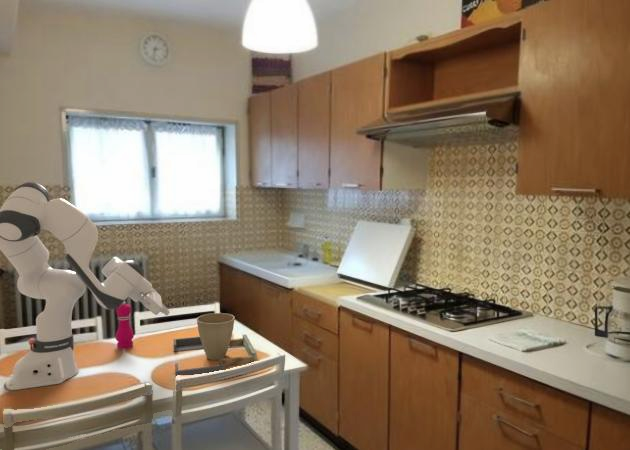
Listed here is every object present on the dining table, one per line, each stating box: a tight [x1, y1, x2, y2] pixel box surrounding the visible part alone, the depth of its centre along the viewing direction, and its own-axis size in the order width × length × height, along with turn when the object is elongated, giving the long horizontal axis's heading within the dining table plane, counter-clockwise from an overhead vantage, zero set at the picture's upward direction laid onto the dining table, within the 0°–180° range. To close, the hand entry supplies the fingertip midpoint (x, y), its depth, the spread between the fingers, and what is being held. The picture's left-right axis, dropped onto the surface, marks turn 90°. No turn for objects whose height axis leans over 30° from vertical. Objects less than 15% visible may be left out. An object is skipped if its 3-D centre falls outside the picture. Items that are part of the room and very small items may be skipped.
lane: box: [222, 334, 257, 368], centre depth 187 cm, size 13×24×4 cm, turn 18°
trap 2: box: [174, 358, 225, 377], centre depth 169 cm, size 17×8×3 cm, turn 108°
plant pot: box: [196, 312, 235, 361], centre depth 185 cm, size 15×15×16 cm
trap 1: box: [173, 336, 204, 353], centre depth 196 cm, size 17×8×3 cm, turn 108°
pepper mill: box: [115, 301, 135, 350], centre depth 196 cm, size 7×7×20 cm
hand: (168, 313), depth 179 cm, fingers closed
